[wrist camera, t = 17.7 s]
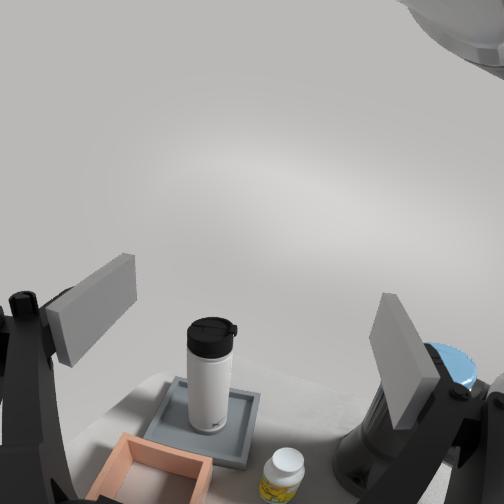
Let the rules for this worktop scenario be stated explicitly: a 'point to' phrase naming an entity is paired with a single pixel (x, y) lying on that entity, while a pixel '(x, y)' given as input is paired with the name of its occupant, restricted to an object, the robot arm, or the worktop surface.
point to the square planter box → (154, 456)
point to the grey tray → (215, 446)
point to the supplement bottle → (282, 476)
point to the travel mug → (209, 373)
